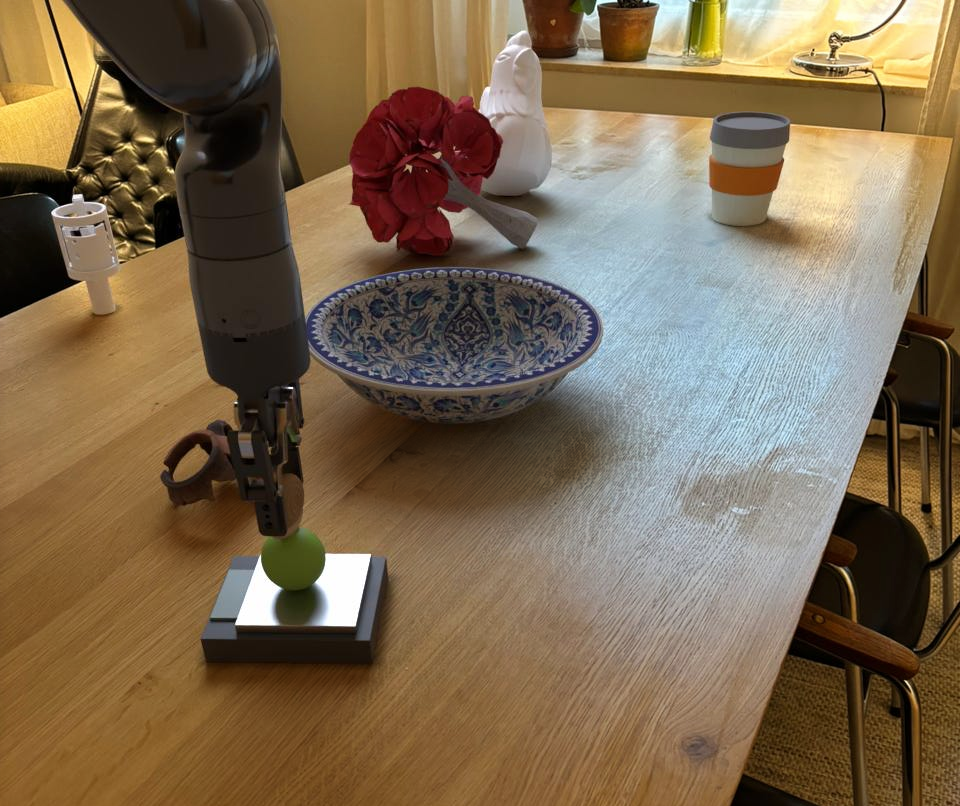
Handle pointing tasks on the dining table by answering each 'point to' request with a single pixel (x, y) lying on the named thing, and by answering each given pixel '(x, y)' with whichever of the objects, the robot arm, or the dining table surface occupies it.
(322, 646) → the scale
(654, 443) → the dining table surface
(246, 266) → the robot arm
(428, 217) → the bouquet
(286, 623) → the scale platter
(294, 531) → the snail figurine
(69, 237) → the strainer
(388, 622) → the dining table surface
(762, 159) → the reusable coffee cup
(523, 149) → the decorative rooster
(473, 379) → the ceramic bowl
